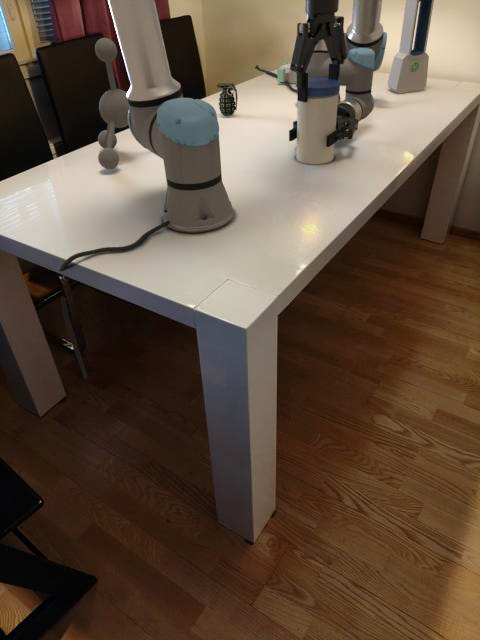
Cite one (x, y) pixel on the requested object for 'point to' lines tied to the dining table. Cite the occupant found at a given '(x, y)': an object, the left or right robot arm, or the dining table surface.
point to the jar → (316, 129)
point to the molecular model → (110, 107)
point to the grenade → (227, 99)
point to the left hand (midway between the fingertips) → (317, 96)
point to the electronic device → (407, 62)
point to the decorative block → (286, 74)
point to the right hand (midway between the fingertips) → (308, 138)
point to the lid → (322, 87)
